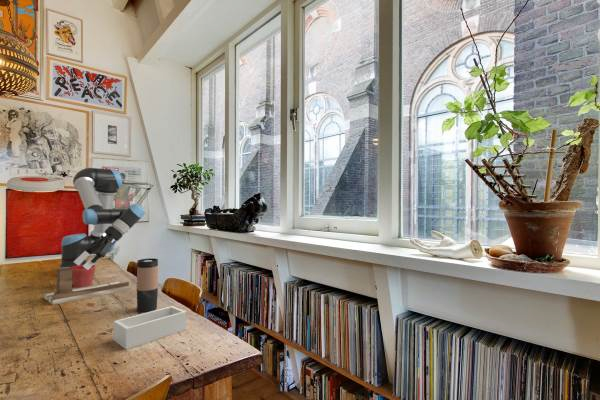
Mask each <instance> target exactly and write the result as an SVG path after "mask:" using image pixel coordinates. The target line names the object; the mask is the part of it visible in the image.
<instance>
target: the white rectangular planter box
mask: <svg viewBox="0 0 600 400" xmlns="http://www.w3.org/2000/svg"><path fill="white" fill-rule="evenodd" d="M187 318H188V317H187V311H186V310H183V309H182V308H181V309H180V308H178V307H176V306H174V305H171V306H167V307H163V308H159V309H156V310H154V311H151V312H146V313H140V314H136V315H133V316H129V317H125V318H121V319H117V320H114V321H113V341H114V342H115V343H116V344H118V345H120V347H122V348H123V349H124V350H129V349H132V348H135V347H139V346H140V345H144V344H146V343H150V342H152V341H156V340H158V339H161V338H164V337H168V336H170V335H174V334H176V333H180V332H182V331H185V330H187Z"/></svg>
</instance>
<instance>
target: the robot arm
mask: <svg viewBox="0 0 600 400" xmlns="http://www.w3.org/2000/svg"><path fill="white" fill-rule="evenodd" d="M72 185H73V187H74V189H75V190H76V191H78V194H79V196H80V199H81V201H82V205H83V207H84V210H83V211H82V221H83V223H84V224H85V225H93V230H91V231H90V234H89V235H87V234H86V233H76V234H70V235H66V236H63V237H62V238H61V239H62V240H61V262H60V265H59V267H58V268H62V267H74V266H79V265H83V267H84V268H86V269H87V270H89V269H90V268H91V267H92V266H93V265H95V264H96V263H97V262H98V261H99V260H100V259H102V258H105V257H106V255H107V254H108V253H111V252H112V251H113V250H114V248H115V245H116V242H119V240H120V239H122V237H123V236H124V235H125V234H126V233H129V231H130V230H131V228H133V227H134V225H136V224H137V223H138V222H139V221H140V220H141V219H142V218H143V217H144V215H145V214H146V211H145V209H144V208H142V207H141V206H140V205H139V204H137V203H133V204H131V205H130V206H129V207H128V208H114V207H113V206H114V198H115V194H118V190H121V188H122V186H123V178H122V175H121V173H120V171H119V170H117V169H112V168H101V167H99V168H95V167H86V168H83V169H81V170H79V171H78V172H77V173H76V174H75V175H74V177H73V179H72ZM91 255H92V256H91ZM89 256H91V257H90V258H89V259H88V260H87V261H86V259H87V258H88V257H89Z"/></svg>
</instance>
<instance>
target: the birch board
mask: <svg viewBox="0 0 600 400" xmlns="http://www.w3.org/2000/svg"><path fill="white" fill-rule="evenodd" d="M129 283H130V282H129V281H125V282H120V281H117V280H115V281H110V282H105V283H104V282H103V283H99V284H94V285H92V284H91V285H90V286H87V287H79V288H77V287H74V288H72V291H74V292H68V293H63V294H57V295H54V292H55V291H53V292H47V293H44V294H43V296H44V297H43V298H44V300H46V301H47V302H48V303H50V304H51V305H52V306H55V305H59V304H65V303H71V302H75V301H79V300H86V299H90V298H95V297H101V296H105V295H111V294H115V293H120V292H126V291H129V290H130V288H129V287H130V284H129Z"/></svg>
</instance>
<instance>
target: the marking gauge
mask: <svg viewBox="0 0 600 400" xmlns="http://www.w3.org/2000/svg"><path fill="white" fill-rule="evenodd" d="M72 289H73V283H72V268H71V267H62V268H59V267H57V268H56V291H53V292H54V295H57V294H63V293H68V292H74V291H72Z"/></svg>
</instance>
